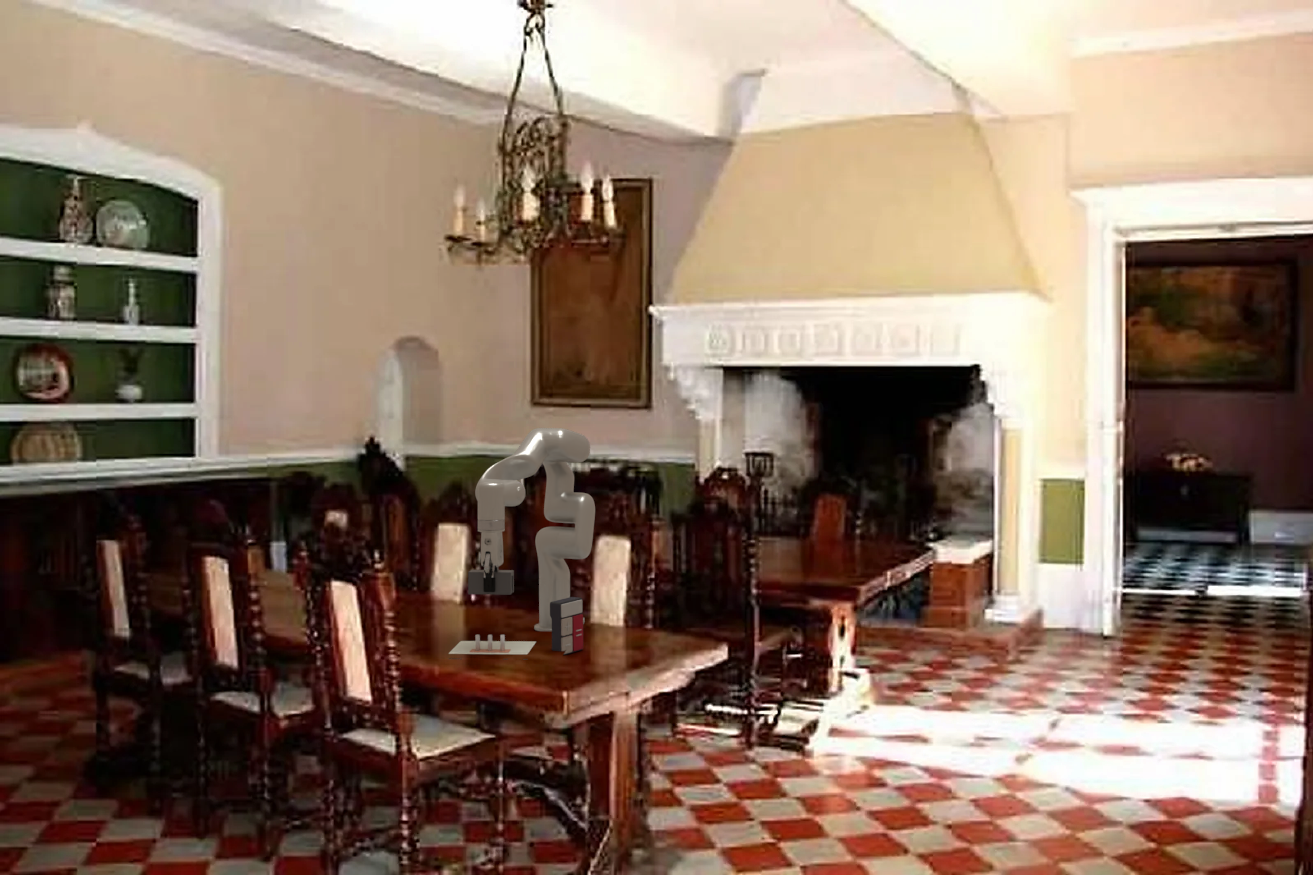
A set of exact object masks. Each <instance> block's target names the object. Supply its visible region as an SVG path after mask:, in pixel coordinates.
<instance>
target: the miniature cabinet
mask: <svg viewBox="0 0 1313 875" xmlns="http://www.w3.org/2000/svg"><path fill="white" fill-rule="evenodd" d="M550 616H551V618H552V631H551V650H552V651H556V652H564V653H563V656H566V655H569V654H573V653H575V652H579V651H582V650H583V649H584V624H583V618H584V614H583V598H582V597H577V596H576V597H575V596H570V597H569V598H565V599H561V600H557V601H553V602H550Z"/></svg>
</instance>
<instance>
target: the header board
mask: <svg viewBox="0 0 1313 875" xmlns="http://www.w3.org/2000/svg"><path fill="white" fill-rule="evenodd" d="M499 636H500V639H499V640H500V641H499V640H498V641H497V640H493V634H488V635H487V640H481V634H475V636H474V637H475V640H460V641H459V642H458V643H457V644H456V645H455V646H453V648H452V649H451V650H450V651H449V652H448V655H528V654H529V653H530V651H531V650H532V648H533V647H534V646H535V644H536V643H537V641H532V640H531V641H527V640H526V641H525V640H523V641H522V640H521V641H520V640H518V641H517V640H516V641H515V640H514V641H513V640H512V641H509V640H508V641H507V640H506V639H505V638H506V637H505V636H506V635H505V634H500V635H499ZM508 659H509V658H504V660H508ZM522 659H523V660H527V661H528V658H522ZM448 660H461V658H455V657H454V658H450V657H449V658H448ZM508 661H509V660H508Z"/></svg>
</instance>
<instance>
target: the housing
mask: <svg viewBox="0 0 1313 875" xmlns="http://www.w3.org/2000/svg"><path fill="white" fill-rule="evenodd" d="M467 573H468V574H467V575H468V576H467V577H468V578H467V579H468V580H467V582H468V583H467V584H468V586H467V587H468V592H467V593H468V595H500V596H501V595H503V596H504V595H505V596H507V595H512V594H513V593H514V592H515V586H514V585H515V580H514V579H515V569H514V570H513V569H511V570H510V569H498V570H494V578H495V592H484V569H470V570H469V571H468V572H467Z"/></svg>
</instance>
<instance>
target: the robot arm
mask: <svg viewBox="0 0 1313 875" xmlns="http://www.w3.org/2000/svg"><path fill="white" fill-rule="evenodd" d="M590 453H591V443H590V441H589V439H588V438H587V436H586V435H585V434H582V433H579V432H577V431H576V432H575V431H573V430H570V429H567V428H561V427H559V428H558V427H537V428H534V429H532V430H530V431H529V432H528V433H527V435H526V436H525V438H524V439H523V440H522V442H521V443H520V444H519V446H518V447H517V448H516V450H515V451H514V452H513V454H512V455H509V456H508V457H506V458H505V457H504V459H501V460H500V461H498V462H496V463H494V464H492V465H491V466H489V467H488V468H487V469H486V470H485V472H484V473H483V474H482V476H481V477H480V479H479V480H478V481H477V484H476V487H475V492H474V494H475V498H476V499H475V500H476V501H477V532H479V533H480V534H481V538H480V564H481V567H483V570H484V592H495V578H494V570H499V567H501V566H502V565H503V564H504V541H503V540H504V539H503V538H504V537H503V532H505V531H506V530H505V528H506V527H505V526H506V524H505V522H506V521H505V520H506V516H505V515H506V512H505V511H506V509H505V508H506V507H516V506H519V505H520V504H522V503H523V501H524V500H525V497H526V489H525V486H524V484H523V483H522V482H520V481H519V480H523V479H526V478H529V477H530V478H531V477H532V476H534V475H535V474H536V473H537V472H538V470H539V469H540V467H541V466H542V465H543V467H544V470H545V475H546V485H545V486H546V487H545V494H544V495H545V496H544V504H543V505H544V506H543V507H544V508H543V515H544V517H545V519H546V520H547V521H549V522H552V523H560V524H561V523H563V524H574V527H567V526H546V527H543V528H541V529H540V530H539V531H537V532H536V535H535V548H536V553H537V561H538V562H537V563H538V584H539V585H538V602H539V604H538V605H539V606H538V610H539V611H538V612H539V613H538V615H539V617H538V618H539V619H538V620H539V621H538V623H535V624H534V625H533V626H534V628H533V629H534V630H535V631H536V632H552V618H551V616H550V602H553V601H557V600H561V599H565V598H569V597H571V573H570V569H569V566H568V564H567V562H566V560H565V559H572V560H584V559H586V558H588V556H589V555H590V554H591V551H592V548H593V541H594V540H593V539H594V528H595V517H596V506H595V501H594V498H593V497H592V496H591V495H590V494H589V493H585V492H574V489H575V488H574V486H575V474H574V472H573V470H572V468H571V466H569V464H568V463H583V462H584V461H586V460H587V459H588V458H589V456H590ZM585 622H586V621H585V617H583V625H584V624H585Z"/></svg>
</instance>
